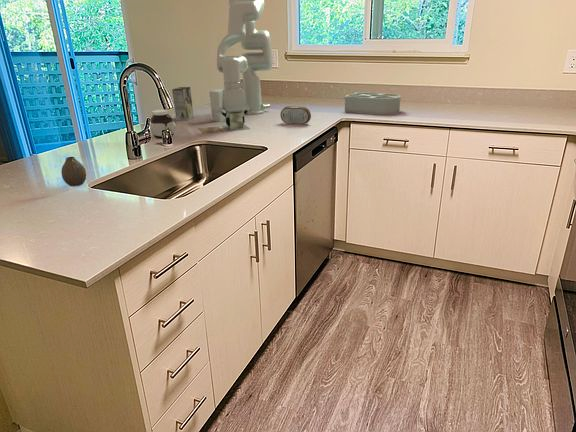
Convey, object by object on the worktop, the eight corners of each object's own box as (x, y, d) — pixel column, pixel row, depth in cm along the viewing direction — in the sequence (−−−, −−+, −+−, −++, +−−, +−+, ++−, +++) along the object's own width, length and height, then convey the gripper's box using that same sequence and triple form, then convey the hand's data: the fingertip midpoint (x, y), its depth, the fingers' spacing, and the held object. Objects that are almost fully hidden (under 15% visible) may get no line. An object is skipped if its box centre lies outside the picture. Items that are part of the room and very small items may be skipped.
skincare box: (222, 118, 231) (220, 88, 225) (232, 119, 228) (229, 88, 222) (211, 121, 225) (208, 90, 219) (221, 122, 222) (218, 91, 215)
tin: (311, 124, 212) (311, 106, 209) (309, 125, 210) (309, 107, 206) (282, 122, 217) (281, 105, 214) (280, 124, 214) (279, 106, 211)
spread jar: (154, 140, 191) (150, 113, 186) (149, 135, 200) (145, 109, 196) (181, 136, 196) (177, 110, 191) (175, 131, 205) (171, 106, 201)
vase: (69, 181, 142) (62, 155, 138) (91, 180, 142) (85, 154, 139) (61, 188, 135) (54, 161, 132) (83, 187, 136) (77, 160, 132)
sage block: (240, 125, 211) (239, 110, 209) (243, 127, 206) (242, 112, 203) (228, 126, 210) (226, 112, 207) (231, 129, 204) (229, 114, 202)
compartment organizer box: (356, 107, 251) (357, 92, 248) (404, 111, 237) (405, 94, 234) (343, 112, 239) (344, 96, 235) (393, 116, 224) (394, 99, 221)
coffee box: (183, 117, 238) (179, 86, 232) (194, 117, 237) (190, 86, 231) (175, 120, 230) (171, 89, 224) (187, 120, 229) (183, 89, 222)
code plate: (243, 124, 216) (243, 123, 216) (250, 130, 204) (250, 129, 203) (221, 126, 212) (221, 125, 212) (227, 132, 200) (227, 131, 200)
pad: (218, 127, 211) (218, 126, 211) (224, 132, 201) (224, 131, 201) (198, 129, 208) (197, 128, 208) (202, 134, 198) (202, 133, 198)
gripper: (248, 83, 206) (250, 122, 213) (212, 86, 201) (216, 125, 208) (252, 85, 200) (255, 124, 207) (215, 88, 194) (219, 128, 202)
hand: (235, 124), depth 207 cm, fingers closed on sage block, 6 cm apart
